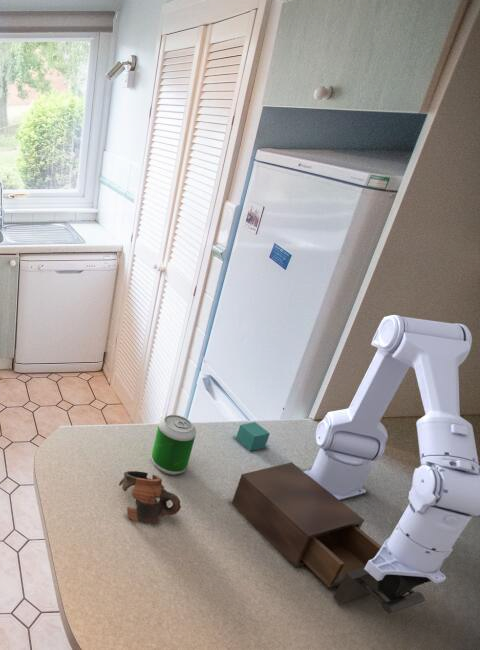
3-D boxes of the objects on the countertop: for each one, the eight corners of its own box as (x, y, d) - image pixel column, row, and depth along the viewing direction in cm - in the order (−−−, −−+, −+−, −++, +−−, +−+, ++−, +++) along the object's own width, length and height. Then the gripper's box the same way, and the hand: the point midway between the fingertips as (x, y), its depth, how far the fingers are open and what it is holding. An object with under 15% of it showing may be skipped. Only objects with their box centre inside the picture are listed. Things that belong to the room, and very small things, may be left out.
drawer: (423, 614, 72) (440, 589, 70) (369, 634, 70) (385, 608, 67) (316, 521, 88) (327, 498, 86) (269, 534, 86) (279, 510, 83)
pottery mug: (111, 515, 91) (113, 473, 92) (127, 505, 99) (128, 466, 99) (175, 534, 84) (176, 488, 84) (186, 521, 91) (188, 479, 92)
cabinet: (348, 550, 84) (364, 519, 80) (294, 567, 81) (309, 536, 77) (280, 490, 96) (291, 462, 93) (231, 503, 93) (241, 474, 90)
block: (250, 435, 112) (254, 421, 110) (264, 447, 108) (270, 433, 106) (235, 438, 111) (240, 424, 109) (249, 451, 107) (254, 436, 105)
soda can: (189, 479, 99) (201, 437, 94) (153, 474, 100) (163, 432, 95) (181, 455, 106) (192, 414, 101) (148, 451, 107) (157, 410, 102)
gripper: (419, 571, 61) (380, 632, 67) (492, 546, 64) (449, 606, 70) (365, 528, 67) (333, 587, 73) (435, 507, 71) (399, 565, 76)
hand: (387, 593), depth 72 cm, fingers closed, pressing on drawer
